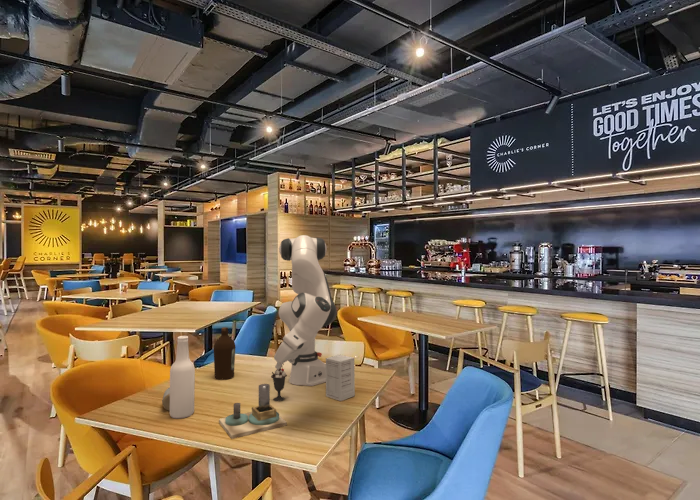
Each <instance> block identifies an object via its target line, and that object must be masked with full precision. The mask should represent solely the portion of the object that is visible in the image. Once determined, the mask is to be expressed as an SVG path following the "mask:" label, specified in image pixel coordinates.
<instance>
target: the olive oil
mask: <svg viewBox="0 0 700 500" xmlns="http://www.w3.org/2000/svg"><path fill="white" fill-rule="evenodd" d="M235 360H236V342H235V340H234V339H233V338H232V337H230V335H229V327H226V326H225V327H221V333H220V337H219V338H218V339H216V341H215V342H214V345H213V367H214V370H213V371H214V379H215V380H217V381H226V380H232V379H233V378H234V377H235V365H236V364H235V363H236V362H235Z"/></svg>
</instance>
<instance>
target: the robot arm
mask: <svg viewBox="0 0 700 500" xmlns="http://www.w3.org/2000/svg"><path fill="white" fill-rule="evenodd" d="M327 248H328V247H327V244H326V241H325V239H324V238H322V237H312V236H309V235H307V234H302V235H298V236H297V237H295V238H294V237H293V238H284V239H282V240H281V242H280V245H279V248H278V249H279V250H278V252H279V255H280V257H281V259H282V260H284V261H287V262H290V261H291V289H292V290H293V292H294V293H295V294H297V295H296V296H295V297H293V300H292V301H291V300H290V301H285V302H282V304H280V306H279V308H278V317H279V319H280V321H282V322H283V323H284V324H285V325H286V327H287V328H288V331H289V332H287V333H286V334H284V336H283V337H282V340H283V341H282V342H281V343H280V345H279V347H278V348H277V350H276V351H275V354H274V356H273V360H274V361H276V364H275V370H279V369H282V366H283V365H282V364H285V363H286V362H289V363H290V364H291V370H290V375H289V379H288V383H289V384H292V385H297V386H308V387H313V386H317V385H320V384H324V383H326V362H324V361H322V360H321V359H319V358H320V357H322V356H323V353H322V352H318V351H316V348H315V347H316V344H315V343H316V337H317V334H318V332H319V331H320V330H321V329H322V328H323V327H326V326H329V325H330V324H332V323H333V322H335V320H336V318H337V314H338V312H337V307H336V304H335V302H334V301H333V297H332V294H331V290H330V286H329V281H328V279H327V276H326V273H325V271H324V270H323V269H322V267H321V265H320V262H319V261H321V260H323V259H324V258H325V256H326V254H327V250H328V249H327Z"/></svg>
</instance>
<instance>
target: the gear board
mask: <svg viewBox="0 0 700 500" xmlns="http://www.w3.org/2000/svg"><path fill="white" fill-rule="evenodd" d="M218 424H220V426H221V427H222V428H223V430H224V431H225V432H226V434H227V435H228V436H229V438H230V439H231V440H233V439H237V437H238V438H241V437H242V438H243V437H245V436H250V435H253V434H257V433H261V432H265V431H269V430H273V429H278V428H280V427H281V428H282V427H285V426H288V421H286V419H284V418H283V417H282V416H281V415H280V413H279V412H278V411H277V409H276V408H275V407H274V406H273V405H271V404H270V410H268V411H264V412H259V405H257V406H253V407H251V411H250V412H249V411H248V412H244V413H241V402H234V403H233V413H232V414H230V415H227V416H226V417H221V418H219V419H218Z"/></svg>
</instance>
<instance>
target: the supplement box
mask: <svg viewBox="0 0 700 500" xmlns="http://www.w3.org/2000/svg"><path fill="white" fill-rule="evenodd" d="M325 364H326V382H325V397H326V398H331V399H333V400H336V401H339V402H343V401H345V400H348V399H350V398H353V397H355V395H356V392H355V387H356V386H355V385H356V384H355V375H356V374H355V357H352V356H347V355H343V354H337V355H333V356H330V357H325Z"/></svg>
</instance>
